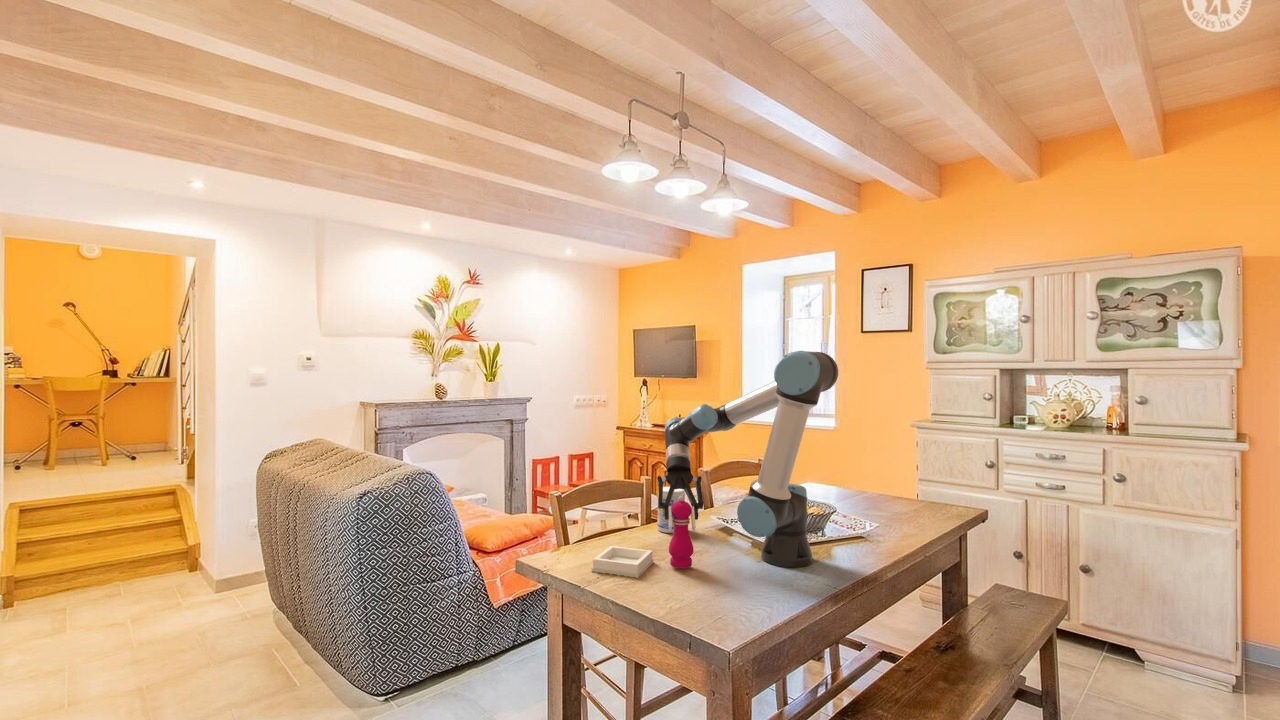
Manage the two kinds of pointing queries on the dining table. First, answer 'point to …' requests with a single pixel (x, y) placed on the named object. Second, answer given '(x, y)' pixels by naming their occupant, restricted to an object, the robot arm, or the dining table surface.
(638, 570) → the ceramic tray
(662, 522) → the supplement tub
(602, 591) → the dining table surface
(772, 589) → the dining table surface
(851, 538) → the dining table surface
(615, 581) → the dining table surface
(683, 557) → the pepper mill
